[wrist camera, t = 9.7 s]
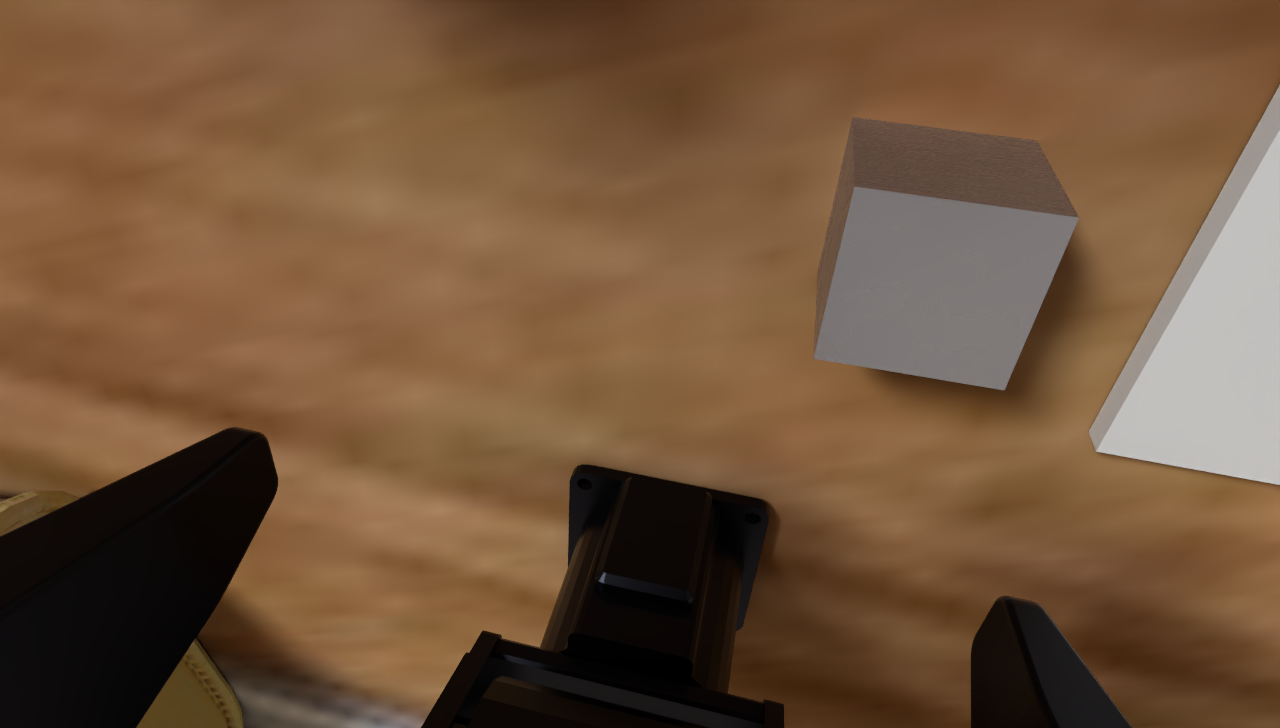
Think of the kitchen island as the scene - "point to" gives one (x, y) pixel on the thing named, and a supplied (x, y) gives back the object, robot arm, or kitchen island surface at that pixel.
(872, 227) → the grey metal block
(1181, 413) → the cream tile
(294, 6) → the kitchen island surface
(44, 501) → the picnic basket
